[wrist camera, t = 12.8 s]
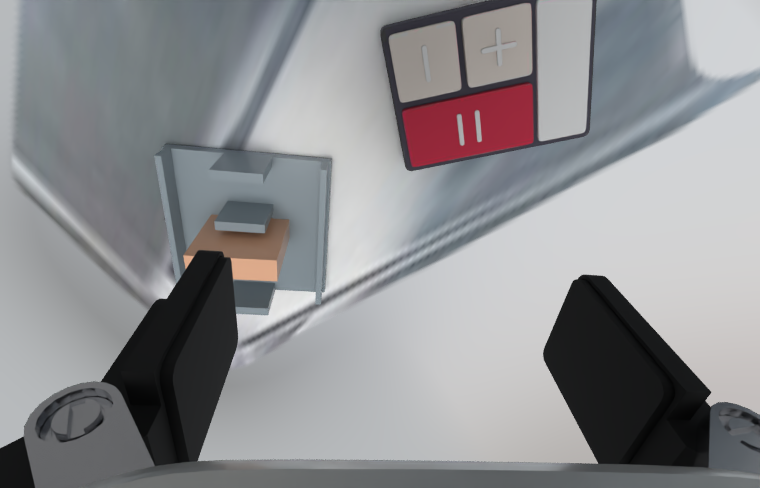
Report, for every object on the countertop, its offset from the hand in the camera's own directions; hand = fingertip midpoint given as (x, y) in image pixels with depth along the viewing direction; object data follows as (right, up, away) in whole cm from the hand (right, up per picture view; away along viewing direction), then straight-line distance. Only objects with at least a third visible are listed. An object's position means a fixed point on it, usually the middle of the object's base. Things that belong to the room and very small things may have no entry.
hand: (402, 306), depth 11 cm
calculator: (+8, +15, +23) cm, 29 cm away
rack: (-13, +4, +28) cm, 31 cm away
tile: (-13, +3, +27) cm, 30 cm away
